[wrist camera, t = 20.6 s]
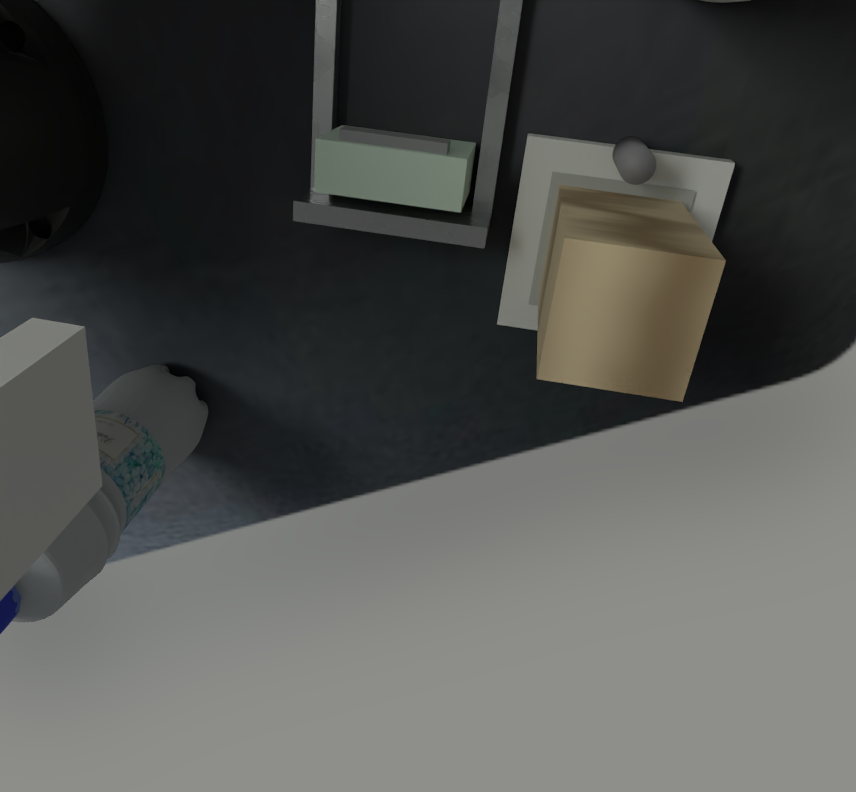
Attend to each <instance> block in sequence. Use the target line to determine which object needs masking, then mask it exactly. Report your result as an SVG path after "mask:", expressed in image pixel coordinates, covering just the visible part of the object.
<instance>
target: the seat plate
mask: <svg viewBox="0 0 856 792" xmlns="http://www.w3.org/2000/svg"><path fill="white" fill-rule="evenodd" d="M734 166H735V163H734V162H733V161H732V160H729V159H721V158H714V157H706V156H699V155H691V154H683V153H676V152H668V151H661V150H653V149H648V147H647V146H646V145H645V144H644V142H643V141H642V140H641V139H639V138H637V137H634V136H629V137H625V138H623V139H621V140H620V141H618V143H617V144H616V145H615V144H608V143H600V142H592V141H585V140H577V139H570V138H562V137H554V136H547V135H539V134H532V133H528V136H527V142H526V148H525V154H524V160H523V167H522V173H521V179H520V185H519V191H518V197H517V204H516V210H515V216H514V222H513V228H512V234H511V241H510V247H509V253H508V259H507V265H506V271H505V278H504V284H503V290H502V296H501V302H500V308H499V315H498V321H497V324H498V325H504V326H511V327H518V328H524V329H531V330H537V331H538V296H539V291H540V286H541V280H542V275H543V270H544V264H545V259H546V254H547V248H548V243H549V238H550V232H551V227H552V222H553V216H554V211H555V206H556V200H557V195H558V190H559V185H563V186H571V187H578V188H585V189H593V190H600V191H607V192H615V193H622V194H629V195H637V196H644V197H651V198H659V199H666V200H673V201H681V202H682V203H683V205H684V206H685V207H686V209H687V210H688V211H689V213H690V214H691V215H692V217H693V218H694V219H695V221H696V222H697V223H698V224H699V226H700V227H701V228H702V230H703V231H704V232H705V234H706V235H707V236H708V238H709V239H710V240H711V242H712V240H713V237H714V233H715V230H716V226H717V223H718V220H719V216H720V213H721V210H722V206H723V203H724V199H725V196H726V193H727V189H728V186H729V183H730V179H731V176H732V172H733V169H734Z"/></svg>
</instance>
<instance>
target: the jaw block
mask: <svg viewBox="0 0 856 792" xmlns="http://www.w3.org/2000/svg"><path fill="white" fill-rule="evenodd" d="M725 263H726V260H725V259H724V257H723V256H722V255H721V253H720V252H719V251H718V249H717V248H716V247H715V246H714V244H713V243H712V242H711V240H710V239H709V238H708V236H707V235H706V234H705V232H704V231H703V230H702V228H701V227H700V226H699V224H698V223H697V222H696V221H695V219H694V218H693V217H692V215H691V214H690V213H689V211H688V210H687V209H686V207H685V206H684V205H683V203H682V202H681V201H673V200H666V199H659V198H651V197H644V196H637V195H629V194H622V193H615V192H607V191H600V190H593V189H585V188H578V187H571V186H563V185H559V190H558V195H557V200H556V206H555V211H554V216H553V222H552V227H551V232H550V238H549V243H548V248H547V254H546V259H545V264H544V270H543V275H542V280H541V286H540V291H539V296H538V335H537V379H540V380H546V381H553V382H559V383H565V384H572V385H578V386H584V387H591V388H597V389H604V390H610V391H616V392H623V393H629V394H635V395H642V396H648V397H655V398H661V399H667V400H674V401H680V402H683V398H684V395H685V392H686V389H687V385H688V382H689V379H690V376H691V373H692V369H693V366H694V363H695V360H696V356H697V353H698V350H699V347H700V343H701V340H702V337H703V334H704V330H705V327H706V324H707V321H708V318H709V314H710V311H711V308H712V305H713V301H714V298H715V295H716V292H717V288H718V285H719V282H720V279H721V275H722V272H723V269H724V266H725Z"/></svg>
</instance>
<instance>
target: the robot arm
mask: <svg viewBox="0 0 856 792" xmlns="http://www.w3.org/2000/svg"><path fill="white" fill-rule="evenodd" d="M106 162H107V143H106V133H105V125H104V120H103V115H102V112H101V108H100V104H99V101H98V98H97V95H96V92H95V89H94V87H93V84H92V82H91V80H90V77H89V75H88V73H87V71H86V69H85V67H84V65H83V63H82V61H81V60H80V58H79V56H78V55H77V53H76V51H75V50H74V48H73V47H72V45H71V44H70V42H69V41H68V39H67V38H66V36H65V35H64V34H63V33H62V31H61V30H60V29H59V28H58V26H57V25H56V24H55V23H54V22H53V21H52V19H51V18H50V17H49V16H48V15H47V14H46V13H45V12H44V11H43V10H42V9H41V8H40V7H39V6H38V5H37V4H35V3H34V2H33V1H32V0H0V263H5V262H11V261H16V260H21V259H24V258H28V257H31V256H33V255H35V254H38V253H40V252H42V251H44V250H46V249H49V248H51V247H53V246H55V245H57V244H59V243H61V242H63V241H64V240H66V239H67V238H69V237H70V236H71V235H73V234H74V233H75V232H76V231H77V230H78V229H79V228H80V227H81V226H82V225H83V224H84V223H85V221H86V220H87V219H88V217H89V216H90V214H91V213H92V211H93V209H94V207H95V205H96V203H97V201H98V199H99V196H100V193H101V190H102V187H103V183H104V178H105V172H106ZM101 487H102V477H101V468H100V459H99V450H98V441H97V432H96V423H95V414H94V405H93V396H92V387H91V378H90V369H89V360H88V351H87V342H86V333H85V327H84V326H78V325H72V324H66V323H60V322H54V321H49V320H43V319H37V318H31V319H29V320H28V321H26V322H25V323H23V324H21V325H20V326H18V327H17V328H15V329H14V330H12V331H10V332H9V333H7V334H6V335H4V336H2V337H1V338H0V601H1V600H2V599H3V597H4V596H5V595H6V594H7V593H8V592H9V591H10V590H11V588H12V587H13V586H14V585H15V584H16V583H17V582H18V580H19V579H20V578H21V577H22V576H23V575H24V574H25V573H26V571H27V570H28V569H29V568H30V567H31V566H32V565H33V564H34V562H35V561H36V560H37V559H38V558H39V557H40V556H41V555H42V553H43V552H44V551H45V550H46V549H47V548H48V547H49V546H50V544H51V543H52V542H53V541H54V540H55V539H56V538H57V537H58V535H59V534H60V533H61V532H62V531H63V530H64V529H65V527H66V526H67V525H68V524H69V523H70V522H71V521H72V520H73V518H74V517H75V516H76V515H77V514H78V513H79V512H80V511H81V509H82V508H83V507H84V506H85V505H86V504H87V503H88V502H89V500H90V499H91V498H92V497H93V496H94V495H95V494H96V493H97V491H98V490H99V489H100V488H101Z"/></svg>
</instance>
